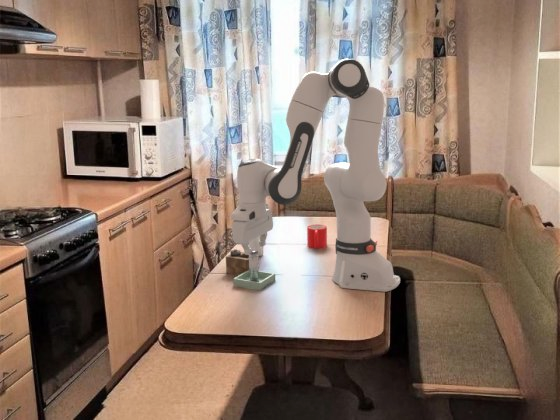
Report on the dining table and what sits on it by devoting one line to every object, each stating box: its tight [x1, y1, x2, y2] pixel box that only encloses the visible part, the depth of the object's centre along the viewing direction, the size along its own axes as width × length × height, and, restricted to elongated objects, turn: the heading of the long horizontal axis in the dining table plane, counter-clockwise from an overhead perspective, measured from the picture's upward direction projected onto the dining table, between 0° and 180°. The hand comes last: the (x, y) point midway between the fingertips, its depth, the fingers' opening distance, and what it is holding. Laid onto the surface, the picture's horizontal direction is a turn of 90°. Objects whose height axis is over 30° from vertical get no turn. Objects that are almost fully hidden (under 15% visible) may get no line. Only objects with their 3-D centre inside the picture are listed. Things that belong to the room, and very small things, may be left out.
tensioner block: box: [225, 248, 249, 276], centre depth 205 cm, size 9×7×8 cm
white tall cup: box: [248, 236, 264, 257], centre depth 223 cm, size 7×7×15 cm
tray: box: [232, 270, 276, 291], centre depth 194 cm, size 10×10×2 cm
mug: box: [306, 224, 328, 249], centre depth 232 cm, size 8×12×8 cm, turn 177°
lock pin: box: [249, 250, 260, 282], centre depth 193 cm, size 3×3×11 cm
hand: (255, 249), depth 191 cm, fingers open, 8 cm apart
